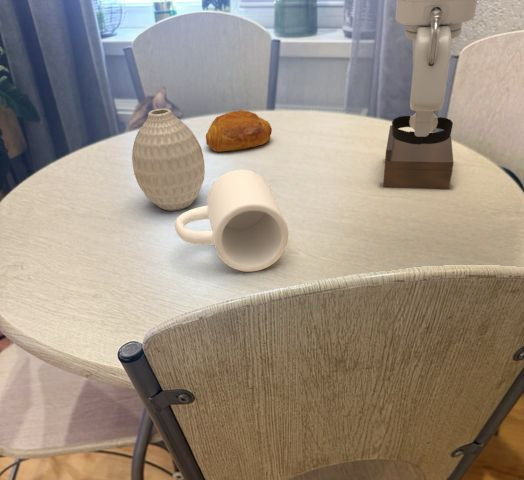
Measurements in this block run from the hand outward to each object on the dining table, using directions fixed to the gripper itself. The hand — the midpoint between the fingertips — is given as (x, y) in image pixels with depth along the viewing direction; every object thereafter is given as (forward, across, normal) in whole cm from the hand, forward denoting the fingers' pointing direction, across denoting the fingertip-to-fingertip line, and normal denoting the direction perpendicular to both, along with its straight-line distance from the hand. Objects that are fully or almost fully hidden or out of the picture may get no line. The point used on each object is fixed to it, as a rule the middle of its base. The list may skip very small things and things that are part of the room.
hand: (421, 127), depth 70 cm
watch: (+2, 0, 0) cm, 2 cm away
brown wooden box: (+19, +32, -1) cm, 37 cm away
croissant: (+19, +48, +40) cm, 65 cm away
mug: (+19, -3, +27) cm, 33 cm away
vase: (+19, +14, +43) cm, 49 cm away
